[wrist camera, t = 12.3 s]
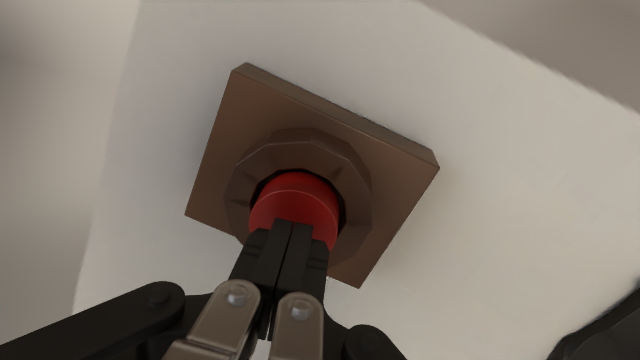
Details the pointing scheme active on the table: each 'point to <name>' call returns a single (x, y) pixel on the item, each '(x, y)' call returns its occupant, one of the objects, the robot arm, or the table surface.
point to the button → (298, 205)
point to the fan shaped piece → (607, 336)
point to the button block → (308, 166)
